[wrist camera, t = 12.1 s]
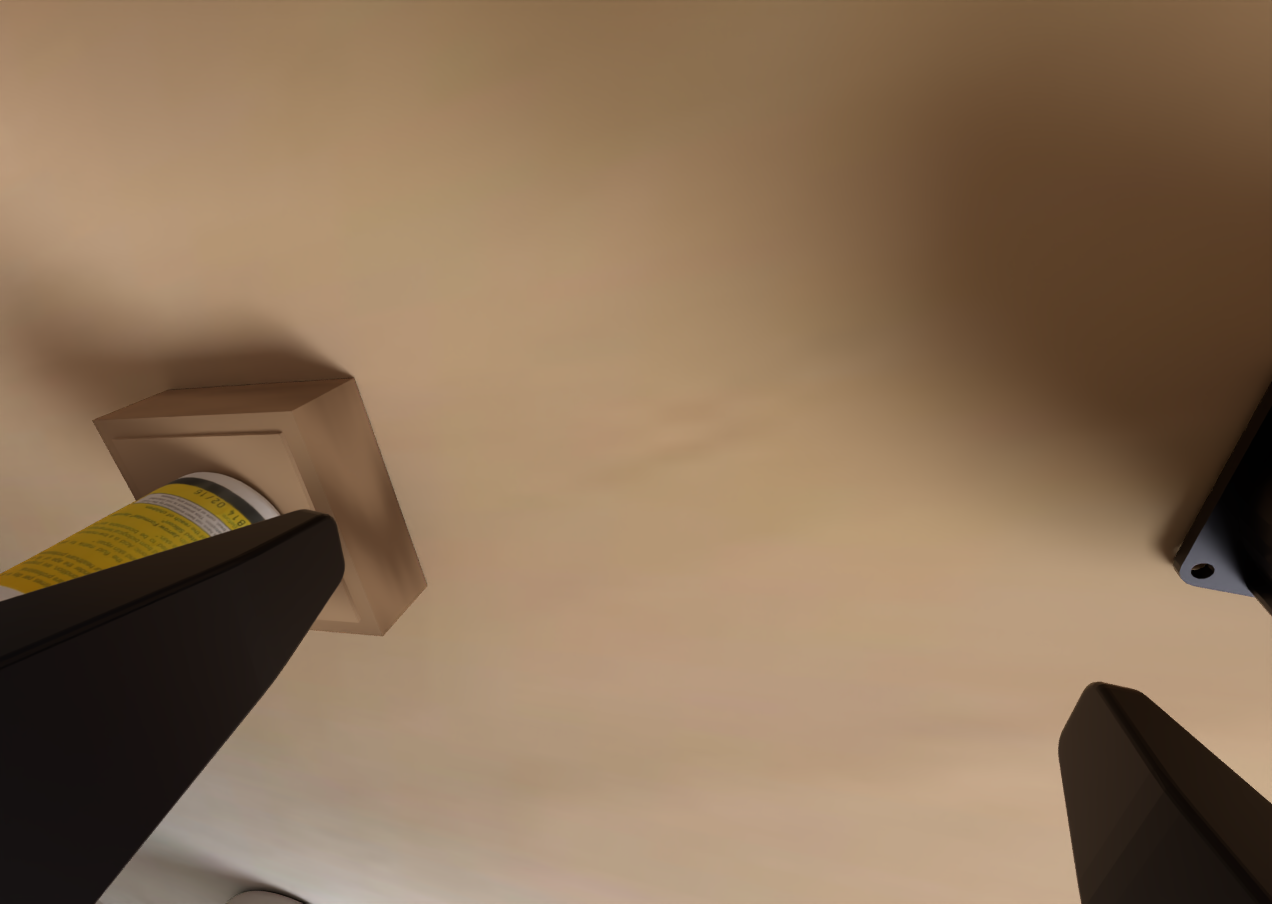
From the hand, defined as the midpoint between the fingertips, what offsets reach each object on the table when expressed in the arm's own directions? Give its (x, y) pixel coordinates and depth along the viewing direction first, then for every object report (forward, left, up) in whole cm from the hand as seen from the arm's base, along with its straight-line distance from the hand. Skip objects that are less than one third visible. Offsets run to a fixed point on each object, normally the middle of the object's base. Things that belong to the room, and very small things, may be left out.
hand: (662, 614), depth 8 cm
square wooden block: (-9, +17, -12) cm, 23 cm away
